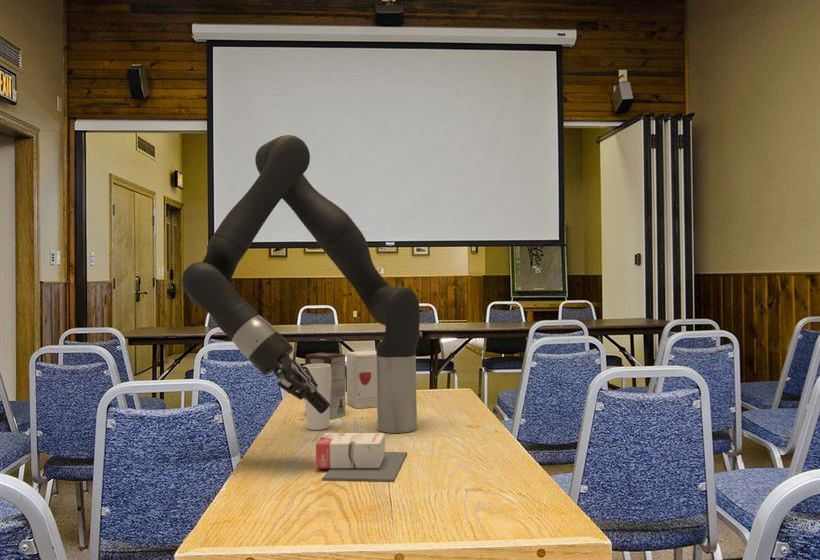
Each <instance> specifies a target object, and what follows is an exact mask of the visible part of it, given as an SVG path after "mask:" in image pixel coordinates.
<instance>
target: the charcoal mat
mask: <svg viewBox="0 0 820 560" xmlns="http://www.w3.org/2000/svg"><path fill="white" fill-rule="evenodd" d="M407 454H408V452H407V451H385V452H384V458H383V461H382V463H381V465H380V468H336V469H328V471H327V472H326V473H325V474H324V476H323V477H322V479H321V480H322V481H336V482H337V481H344V482H345V481H347V482H387V483H388V482H391V483H392V482H393V483H394V482H395V480H396V479H397V476H398V474H399V472H400V470H401V467H402V466H403V463H404V461H405V459H406V457H407Z"/></svg>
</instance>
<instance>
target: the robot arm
mask: <svg viewBox="0 0 820 560" xmlns="http://www.w3.org/2000/svg"><path fill="white" fill-rule="evenodd" d="M254 161H255V167H256V170H257V171H258V173H259V176H258V177H257V178H256V180H255V181H254V182H253V184H252V185H251V186H250V188H249V190H248V191H246V193H245V194H244V195H243V196H242V198H241V199H239V201H238V202H237V203H236V204H235V205H234V206H233V207H232V209H230V211H229V212H228V213H227V215H226V216H224V217H225V218H224V219H223V220H222V221H221V223H220V224H219V225H218V227H217V229H216V230H215V232H214V233H213V235H212V237H211V238H210V240H209V241H208V243H207V249H206V254H205V256H204V257H203V259H202V261H197V262H194V263H192V264H190V265H188V266H187V267H186V268H185V269H184V272H183V274H182V279H181V280H182V281H181V282H182V286H183V289H184V291H185V293H186V296H187V297H188V299H189V300H190V302H192V303H193V304H194V305H197V306H199V307H202V308H203V309H204V310H205V311H206V312H207V313H208V314H209V316H211V317H212V319H213V321H214V322H215V324H216V325H217V327H219V329H220V330H221V331H222V332H223V333H224V334H225V335H226V336H227V337H228V338H229V339H230V341H232V343H233V344H234V345H235V347H236V348H237V349H238V350H239V351H240V353H241V354H242V355H244V356H245V358H246V359H248V361H249V362H250V363H251V364H252V365H253V366H254V367H255V368H256V369H257V370H258V371H259V373H260V374H262V375H263V376H267V375H269V374H272V373H273V374H274V375H275V376H276V378H277V380H278V382H277V386H278V387H279V388H280V389H282V390H284V391H285V392H287V393H289V394H291V396H294V397H295V398H297V399H299V400H300V401H302V400H304V401H305V400H306V401H308V402H309V403H310V404H311V405H312V406H313V407H314V408H315V409H316V410H317V411H318V412H319V413H321V414H322V413H323V412H325V411H326V410H327V409H328V408H329V407H330V403H329V402H328V401H327V400H326V399H325V398H324V397H323V396H322V395H321V394H320V393H319V392H318V391H317V390H318V389H317V387H318V385H317V383H316V382H315V380H314V378H313V377H312V375H311V373H310V371H309V370H308V368H307V367H305V366H304V365H303V366H304V367H303V366H302V365H301V364H300V362H298V361H295V360H293V359H292V358H291V357H290V355H291V354H292V352H293V350H294V347H293V346H292V344H291V343H290V342H289V341H287V339H286V338H285V337H284V336H283V335H282V334H281V333H280V332H279V331H278V330H277V329H276V328H275V327H274V326H273V325H272V324H271V323H270V322H269V321H267V320H266V319H265V318H263V316H261V315H260V314H259V313H258V312H257V310H255V309H254V308H253V307H252V306H251V305H250V304H249V303H248V302H247V301H246V300H244V298H243V297H242V296H241V295H240V294H239V293H238V291H236V289H235V288H234V286H232V284H231V280H232V278H233V277H234V274H235V272H236V269H237V267H238V264H239V263H240V262H241V260H242V259H243V257H244V256H245V254H246V252H247V251H248V249H249V248H250V247H251V245H252V243H253V241H254V239H256V237H257V235H258V233H259V231H260V230H261V228H262V227H263V225H264V224H265V222H266V221H267V219H268V218H269V216H270V215H271V213H272V212H273V211H274V209H275V208H276V207H277V205H278V204H279V202H280V201H281V200H283V202H285V204H287V205H288V206H289V208H290V209H291V210H292V211H293V213H294V214H295V215H296V216H297V218H298V219H299V220H300V222H301V223H302V224H303V226H304V227H305V228H306V230H308V232H309V233H310V234H311V235H312V238H314V240H315V241H316V242H317V244H318V245H319V247H320V248H321V249H322V250H323V252H324V253H325V255H327V256H328V258H329V259H330V260H331V261H332V263H333V264H334V265H335V266H336V267H337V269H338V270H339V272H340V273H341V274H342V275H343V276H344V277H345V278H346V280H347V281H348V282H349V283H350V285H351V286H352V288H353V289H354V290H355V292H356V293H357V294H358V297H359V298H360V300H361V301H362V303H363V305H364V306H365V307H366V309H367V311H368V312H369V314H370V315H371V317H372V319H374V321H376V322H377V323H379V324H381V325H383V326H385V328H384V329H385V331H384V337H383V339H382V340H381V341H379V342H378V343H377V345H376V350H375V351H376V355H377V356H376V357H377V407H376V409H377V411H376V413H377V416H376V417H377V418H376V420H377V421H376V423H377V431H379V432H381V433H389V434H400V433H401V434H402V433H409V432H413V431H416V430H417V429H418V424H417V423H418V421H417V420H418V419H417V417H418V415H417V411H418V410H417V407H418V406H417V364H416V363H417V359H416V357H417V355H416V354H417V351H416V350H417V347H418V343H419V340H420V318H421V315H420V314H421V309H420V303H419V299H418V296H417V294H416V293H415V292H414V290H412V289H411V288H409V287H406V286H405V287H404V286H391V285H390V284H389V283H388V282H387V281H386V280H385V279H384V277H382V275H381V274H380V272H379V271H378V269H377V268H376V266H375V265H374V263H373V260H372V256H371V252H370V249H369V245H368V242H367V240H366V237H365V236H364V234H363V233H362V231H361V229H360V228H359V227H358V226H357V224H356V223H355V222H354V221H353V219H352V218H351V217H350V216H349V214H347V212H346V211H345V210H343V209H342V208H341V207H339V206H338V205H337V204H335V203H334V202H333V201H332V200H330V199H328V198H327V197H325V196H324V195H323V194H322V193H320V192H319V191H318V190H316V188H315V187H314V186H313V185H312V184H311V183H310V181H309V180H308V179H307V177H306V176H305V175H304V174H305V173H306V171H307V170H308V168H309V165H310V161H311V154H310V150H309V147H308V145H307V144H306V143H305V141H304V140H302V139H301V138H300V137H297V136H296V135H293V134H292V135H291V134H285V135H280V136H278V137H276V138H274V139H272V140H270V141H268V142H266V143H264V144H262V146H260V147H259V148H258V149H257V151H256V153H255V160H254Z"/></svg>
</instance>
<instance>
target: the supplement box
mask: <svg viewBox="0 0 820 560" xmlns="http://www.w3.org/2000/svg"><path fill="white" fill-rule="evenodd" d="M376 356H377V355H376V350H361V351H359V350H358V351H347V352H346V404H347V405H349V406H351V407H353V408H355V409H369V407H370V408H377V357H376Z"/></svg>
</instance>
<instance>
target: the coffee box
mask: <svg viewBox="0 0 820 560" xmlns="http://www.w3.org/2000/svg"><path fill="white" fill-rule="evenodd" d="M307 364H330V365H331V372H332V385H331V399H330V414H329V420H333V419H334V420H335V419H337V418H340V417H343V416H346V354H343V353H342V354H341V353H330V352H316V353H315V352H314V353H310V354H309V353H308V354H305V355H304V365H307ZM304 409H305V416H306V408H305V407H304Z"/></svg>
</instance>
